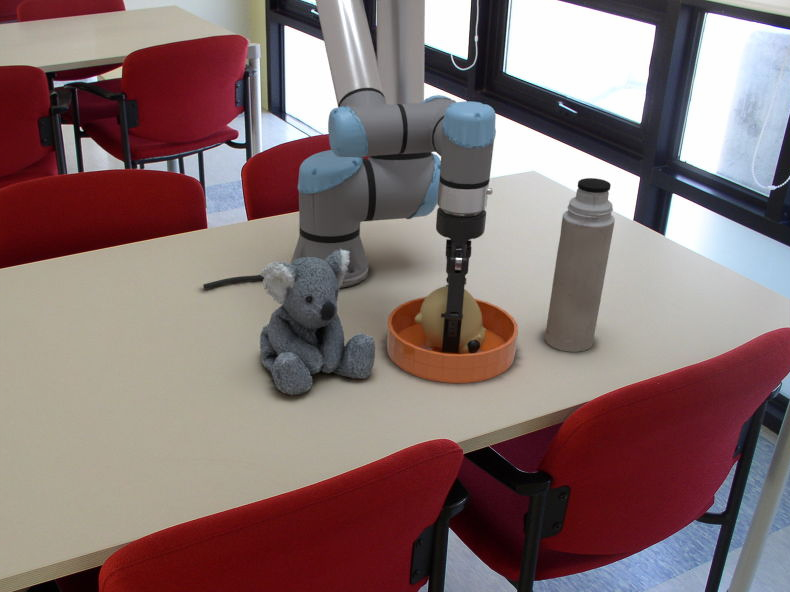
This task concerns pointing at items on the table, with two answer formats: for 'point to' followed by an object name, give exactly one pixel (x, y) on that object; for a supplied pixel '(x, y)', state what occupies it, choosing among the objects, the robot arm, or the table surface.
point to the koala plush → (310, 324)
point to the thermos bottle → (580, 267)
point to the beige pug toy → (434, 323)
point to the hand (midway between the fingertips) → (450, 335)
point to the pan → (449, 366)
